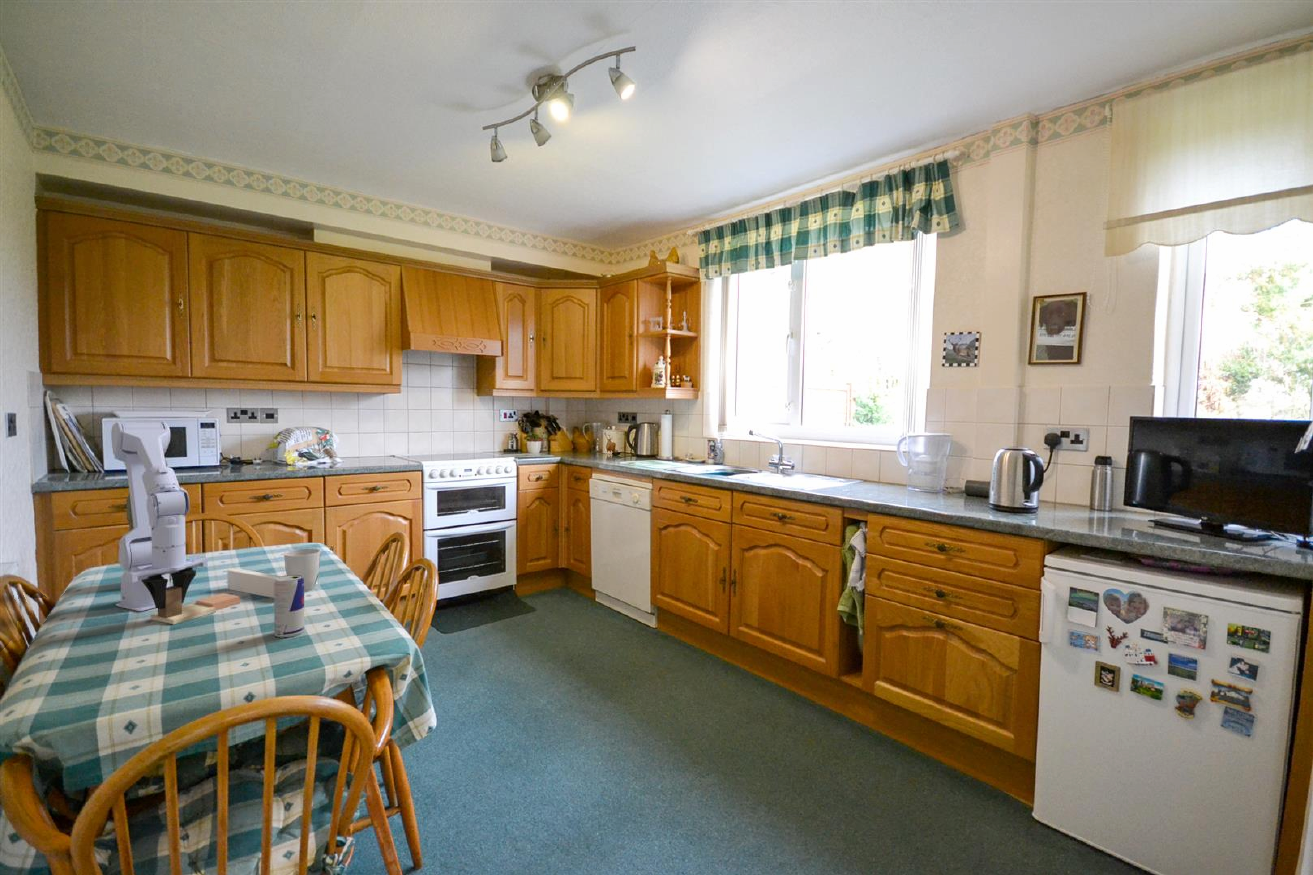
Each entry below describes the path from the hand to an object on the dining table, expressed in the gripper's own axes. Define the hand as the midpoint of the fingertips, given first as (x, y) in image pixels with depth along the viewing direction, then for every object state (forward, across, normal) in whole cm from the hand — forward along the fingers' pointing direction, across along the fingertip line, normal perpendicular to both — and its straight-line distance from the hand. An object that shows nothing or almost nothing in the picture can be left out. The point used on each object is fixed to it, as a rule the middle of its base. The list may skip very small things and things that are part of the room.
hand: (169, 605), depth 126 cm
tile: (+3, +10, 0) cm, 11 cm away
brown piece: (+3, +3, 0) cm, 4 cm away
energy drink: (+3, +5, -31) cm, 32 cm away
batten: (+3, +20, 0) cm, 20 cm away
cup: (+3, +27, -6) cm, 28 cm away
